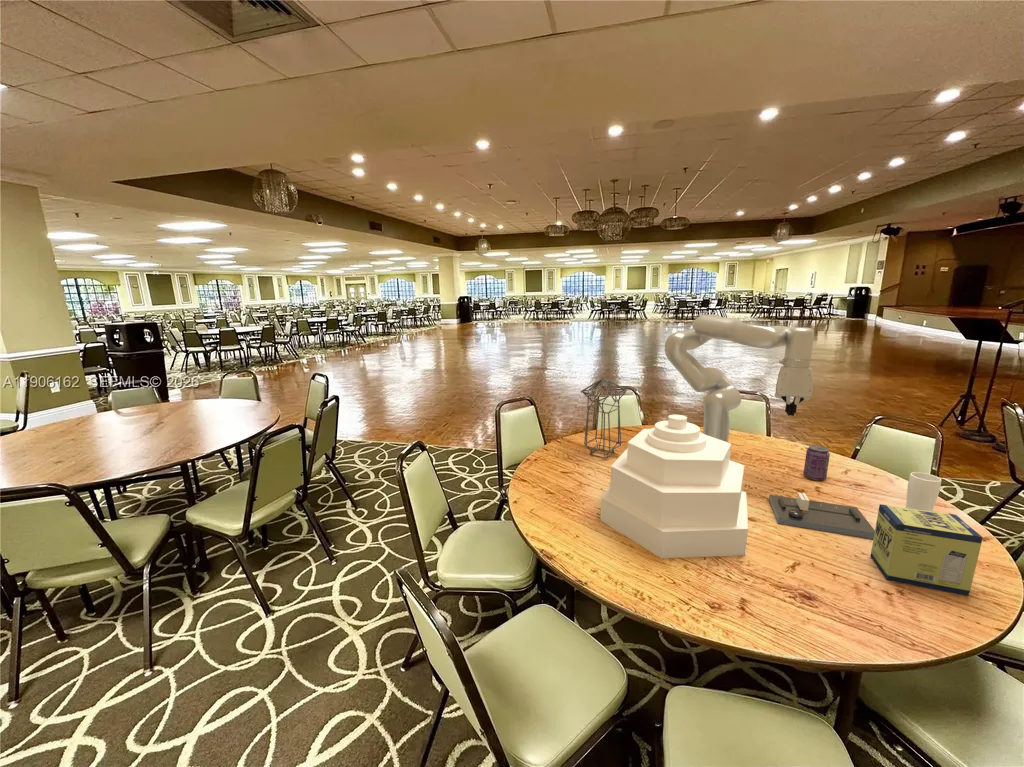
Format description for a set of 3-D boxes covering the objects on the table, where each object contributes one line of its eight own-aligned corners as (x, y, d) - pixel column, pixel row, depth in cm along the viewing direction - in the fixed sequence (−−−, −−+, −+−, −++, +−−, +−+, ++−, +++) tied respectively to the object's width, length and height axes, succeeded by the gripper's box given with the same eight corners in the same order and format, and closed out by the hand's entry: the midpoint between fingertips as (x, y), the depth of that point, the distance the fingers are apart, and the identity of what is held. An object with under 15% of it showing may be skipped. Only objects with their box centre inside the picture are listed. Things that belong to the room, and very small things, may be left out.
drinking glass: (923, 518, 128) (933, 473, 125) (937, 529, 122) (947, 482, 119) (896, 514, 130) (905, 470, 127) (908, 525, 124) (918, 479, 121)
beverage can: (818, 473, 160) (822, 444, 158) (830, 482, 153) (835, 451, 151) (799, 473, 161) (803, 444, 158) (810, 481, 154) (814, 451, 151)
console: (777, 523, 126) (779, 513, 126) (768, 499, 141) (769, 491, 140) (876, 539, 117) (878, 529, 117) (855, 512, 132) (857, 503, 131)
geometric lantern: (626, 453, 184) (629, 377, 176) (608, 465, 173) (610, 384, 165) (595, 444, 195) (597, 372, 186) (576, 455, 184) (578, 379, 175)
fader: (800, 509, 130) (801, 499, 129) (796, 502, 134) (797, 492, 133) (807, 510, 129) (809, 500, 128) (803, 503, 133) (805, 493, 133)
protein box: (868, 556, 110) (878, 503, 107) (945, 569, 104) (958, 514, 101) (885, 580, 101) (896, 523, 98) (970, 597, 95) (985, 536, 92)
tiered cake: (641, 475, 162) (646, 393, 155) (772, 517, 130) (785, 415, 123) (573, 518, 132) (575, 418, 125) (722, 586, 100) (735, 457, 93)
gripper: (773, 364, 141) (767, 415, 145) (826, 366, 135) (818, 419, 139) (769, 361, 148) (763, 410, 152) (819, 362, 142) (812, 413, 146)
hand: (790, 414), depth 145 cm, fingers closed
